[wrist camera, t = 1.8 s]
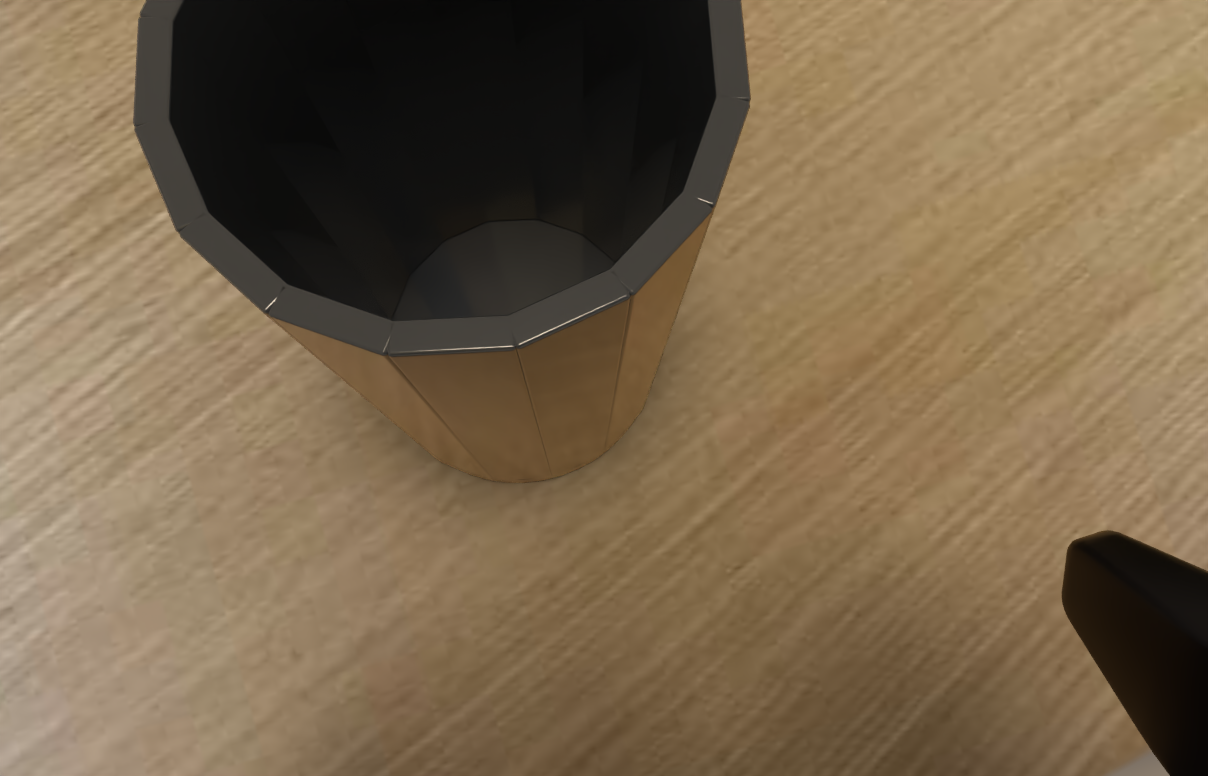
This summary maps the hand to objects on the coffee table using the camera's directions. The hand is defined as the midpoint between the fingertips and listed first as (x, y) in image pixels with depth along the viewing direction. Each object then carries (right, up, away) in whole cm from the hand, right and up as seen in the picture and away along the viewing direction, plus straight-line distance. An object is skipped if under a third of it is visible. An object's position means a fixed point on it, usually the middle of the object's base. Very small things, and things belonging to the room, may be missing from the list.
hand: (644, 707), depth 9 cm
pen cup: (-2, +4, +14) cm, 15 cm away
